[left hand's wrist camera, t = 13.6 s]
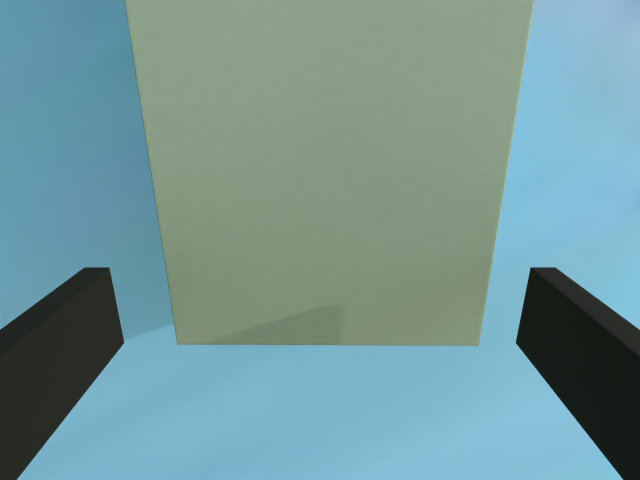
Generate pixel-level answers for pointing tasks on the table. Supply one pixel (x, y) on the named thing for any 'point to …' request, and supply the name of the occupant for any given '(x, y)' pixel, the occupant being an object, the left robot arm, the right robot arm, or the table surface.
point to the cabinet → (328, 163)
